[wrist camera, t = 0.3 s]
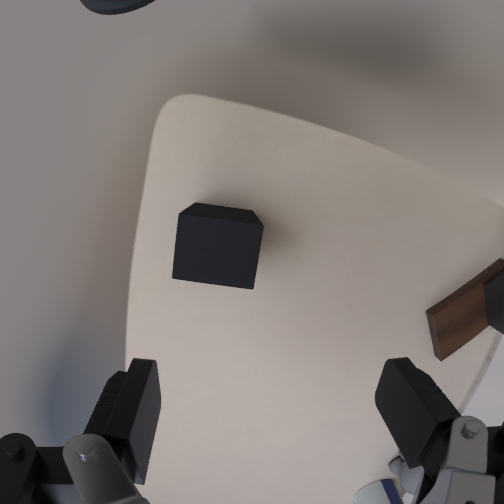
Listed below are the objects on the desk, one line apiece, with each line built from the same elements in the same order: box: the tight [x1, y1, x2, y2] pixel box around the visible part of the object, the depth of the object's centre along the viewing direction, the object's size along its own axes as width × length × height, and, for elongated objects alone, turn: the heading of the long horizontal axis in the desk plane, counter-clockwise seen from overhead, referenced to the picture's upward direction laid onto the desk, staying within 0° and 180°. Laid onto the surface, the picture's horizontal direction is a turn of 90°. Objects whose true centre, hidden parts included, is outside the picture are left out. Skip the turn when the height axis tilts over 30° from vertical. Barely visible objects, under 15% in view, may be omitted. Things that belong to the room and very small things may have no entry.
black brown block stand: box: [426, 258, 504, 361], centre depth 27 cm, size 7×13×10 cm, turn 116°
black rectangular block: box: [172, 203, 264, 289], centre depth 23 cm, size 4×5×9 cm
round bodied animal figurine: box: [389, 452, 424, 495], centre depth 32 cm, size 7×12×8 cm, turn 161°
